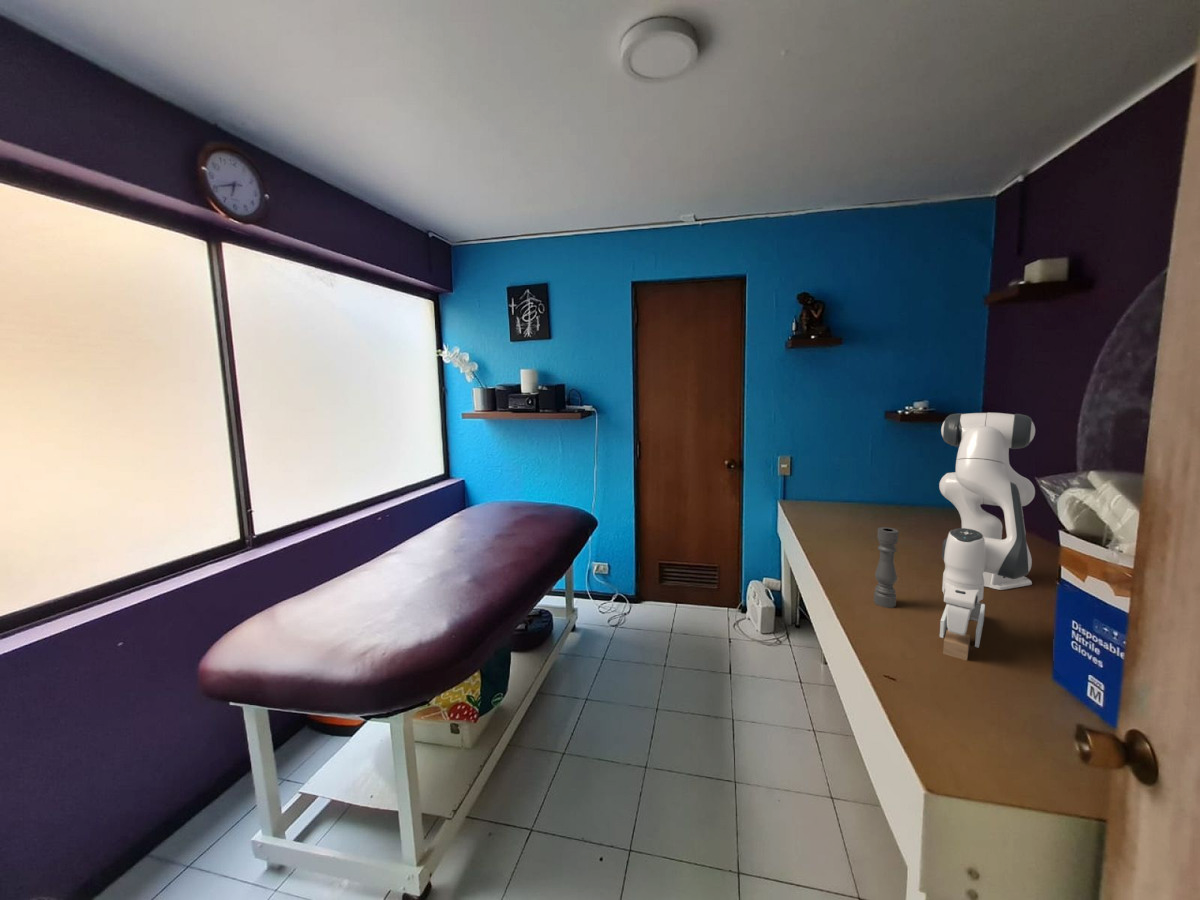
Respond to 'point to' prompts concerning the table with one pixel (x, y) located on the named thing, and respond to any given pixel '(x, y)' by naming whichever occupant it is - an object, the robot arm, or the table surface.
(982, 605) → the white channel
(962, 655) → the light brown block
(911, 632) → the table surface
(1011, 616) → the table surface
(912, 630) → the table surface
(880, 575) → the candle holder
